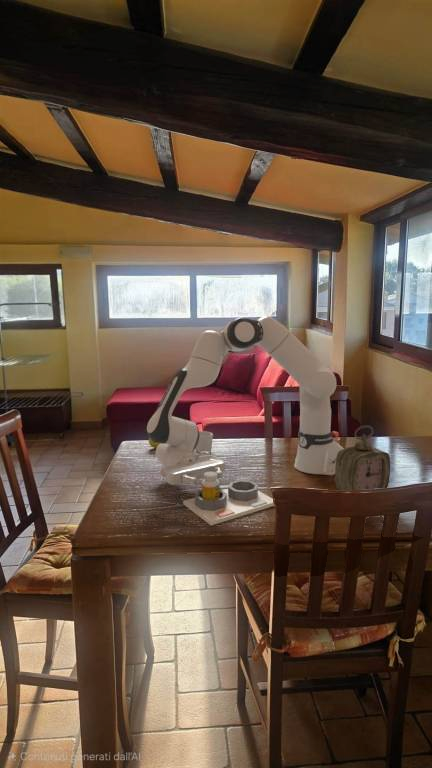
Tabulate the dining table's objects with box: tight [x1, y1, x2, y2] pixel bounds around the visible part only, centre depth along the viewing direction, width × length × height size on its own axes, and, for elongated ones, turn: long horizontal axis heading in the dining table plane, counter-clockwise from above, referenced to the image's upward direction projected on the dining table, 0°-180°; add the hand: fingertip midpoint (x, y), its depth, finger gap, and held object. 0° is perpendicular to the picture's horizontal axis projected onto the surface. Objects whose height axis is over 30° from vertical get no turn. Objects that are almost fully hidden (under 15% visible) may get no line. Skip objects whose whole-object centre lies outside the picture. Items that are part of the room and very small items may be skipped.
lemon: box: [148, 436, 160, 450], centre depth 195 cm, size 7×6×10 cm
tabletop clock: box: [334, 425, 391, 491], centre depth 142 cm, size 14×9×25 cm, turn 114°
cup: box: [194, 430, 214, 453], centre depth 192 cm, size 11×8×8 cm
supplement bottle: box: [201, 472, 221, 500], centre depth 141 cm, size 5×5×10 cm
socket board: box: [182, 479, 274, 526], centre depth 143 cm, size 24×16×4 cm, turn 123°
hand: (207, 478), depth 141 cm, fingers open, 8 cm apart
